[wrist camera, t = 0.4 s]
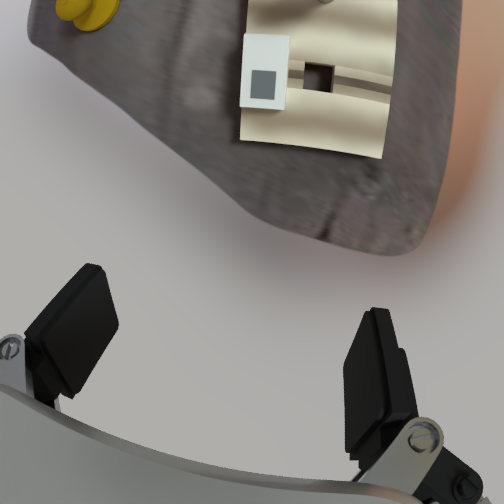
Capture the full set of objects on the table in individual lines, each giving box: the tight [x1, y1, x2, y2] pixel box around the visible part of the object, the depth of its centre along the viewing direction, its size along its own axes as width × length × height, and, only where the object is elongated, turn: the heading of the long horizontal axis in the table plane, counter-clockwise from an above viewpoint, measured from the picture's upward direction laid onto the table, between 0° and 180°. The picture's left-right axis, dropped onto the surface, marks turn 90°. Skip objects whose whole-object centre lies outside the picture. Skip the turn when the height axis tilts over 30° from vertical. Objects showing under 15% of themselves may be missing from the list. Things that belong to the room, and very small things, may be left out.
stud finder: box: [240, 34, 291, 110], centre depth 27 cm, size 8×4×2 cm, turn 176°
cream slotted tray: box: [240, 0, 397, 159], centre depth 28 cm, size 22×16×3 cm
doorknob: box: [55, 0, 120, 31], centre depth 24 cm, size 8×8×8 cm
